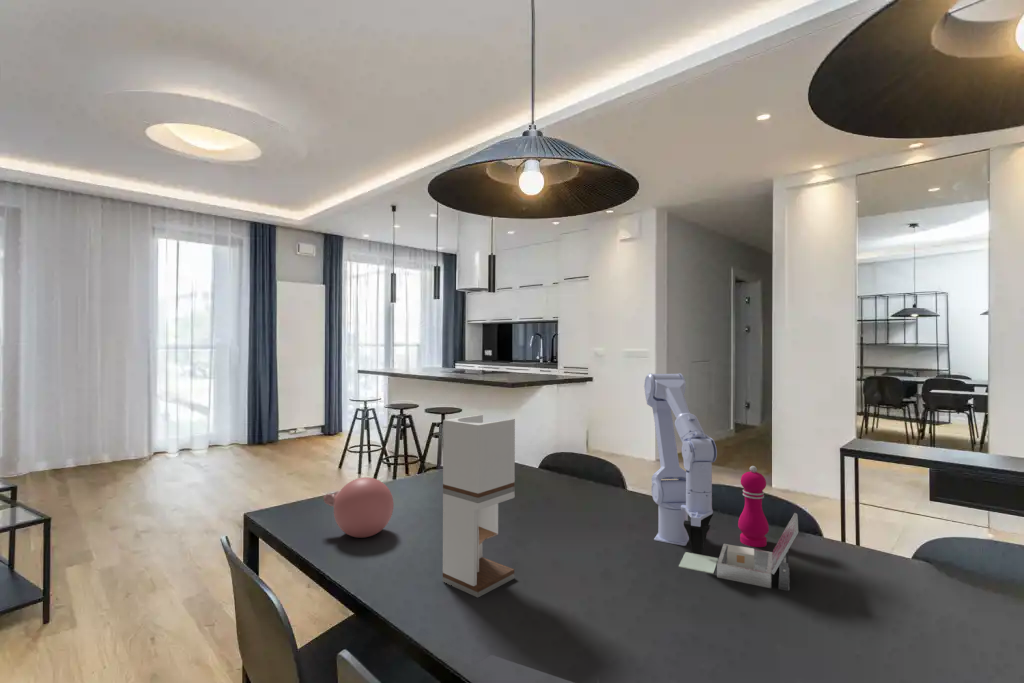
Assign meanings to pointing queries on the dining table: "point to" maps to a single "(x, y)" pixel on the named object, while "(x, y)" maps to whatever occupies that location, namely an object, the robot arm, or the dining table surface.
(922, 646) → the dining table surface
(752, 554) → the block
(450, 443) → the display case
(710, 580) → the dining table surface
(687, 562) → the pad
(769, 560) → the case
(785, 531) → the lid
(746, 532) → the pepper mill
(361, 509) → the round balloon
